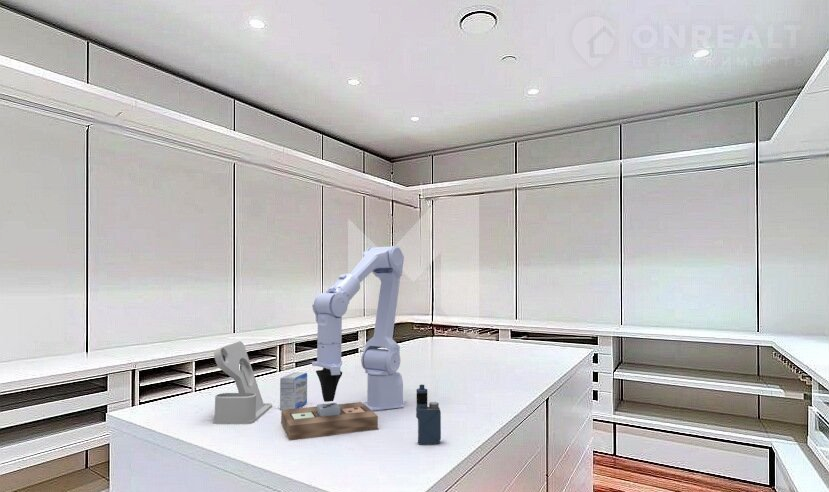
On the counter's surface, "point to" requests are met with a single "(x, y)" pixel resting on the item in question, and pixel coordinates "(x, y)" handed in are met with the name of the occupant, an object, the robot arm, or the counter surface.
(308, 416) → the tile
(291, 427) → the block tray
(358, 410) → the tile
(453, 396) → the counter surface
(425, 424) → the vaping device
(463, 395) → the counter surface
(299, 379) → the medicine box
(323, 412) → the tile
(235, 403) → the phone holder
